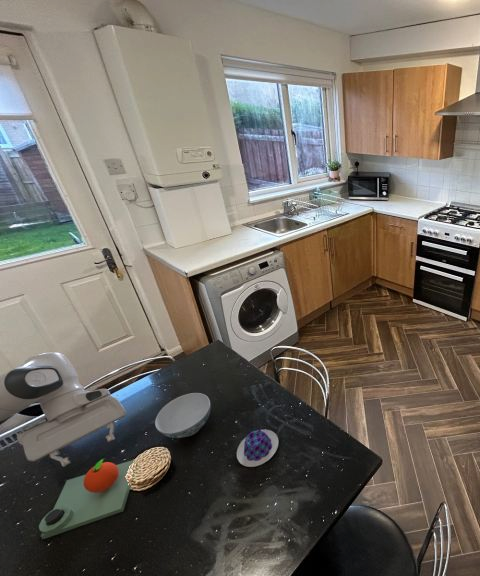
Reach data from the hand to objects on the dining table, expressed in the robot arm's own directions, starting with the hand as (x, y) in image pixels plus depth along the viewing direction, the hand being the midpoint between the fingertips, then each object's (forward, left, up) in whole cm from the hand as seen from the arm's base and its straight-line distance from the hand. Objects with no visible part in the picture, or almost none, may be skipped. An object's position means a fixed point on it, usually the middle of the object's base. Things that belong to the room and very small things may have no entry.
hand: (90, 452), depth 84 cm
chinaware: (+21, +7, -9) cm, 24 cm away
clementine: (+3, -5, -8) cm, 10 cm away
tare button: (-5, -12, -6) cm, 14 cm away
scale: (0, -7, -9) cm, 11 cm away
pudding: (+41, -9, -9) cm, 43 cm away
